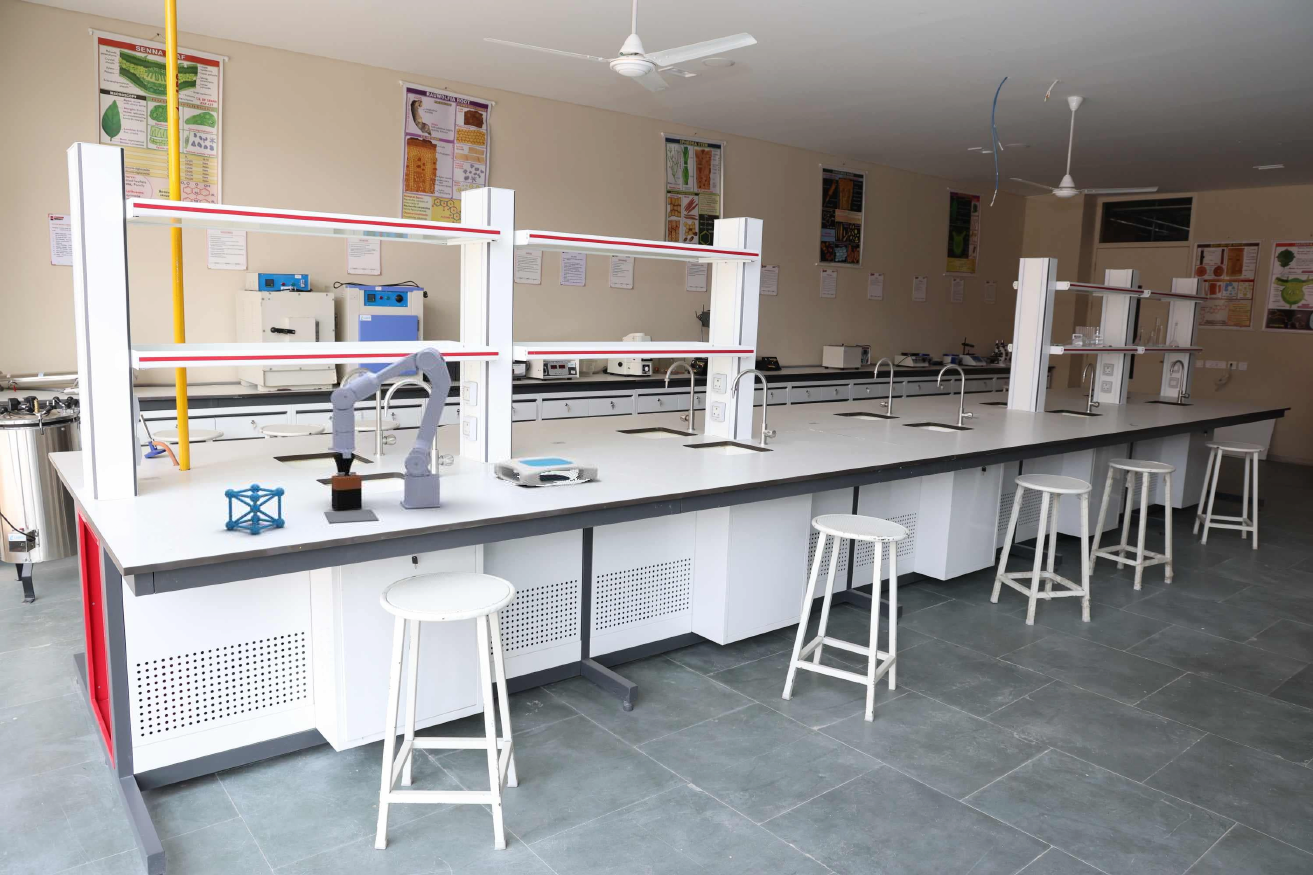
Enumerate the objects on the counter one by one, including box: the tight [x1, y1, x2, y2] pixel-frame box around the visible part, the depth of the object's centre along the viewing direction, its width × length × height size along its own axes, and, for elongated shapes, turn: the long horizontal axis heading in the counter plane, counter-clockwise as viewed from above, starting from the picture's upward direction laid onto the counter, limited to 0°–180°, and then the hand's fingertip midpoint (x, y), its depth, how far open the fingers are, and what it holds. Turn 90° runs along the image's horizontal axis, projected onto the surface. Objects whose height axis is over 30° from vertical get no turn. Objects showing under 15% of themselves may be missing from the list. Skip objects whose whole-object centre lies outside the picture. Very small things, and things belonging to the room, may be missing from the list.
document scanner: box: [493, 455, 599, 487], centre depth 293 cm, size 21×28×6 cm
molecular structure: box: [224, 483, 286, 535], centre depth 213 cm, size 10×10×10 cm
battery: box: [331, 471, 363, 511], centre depth 236 cm, size 4×7×10 cm, turn 132°
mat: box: [323, 509, 379, 524], centre depth 229 cm, size 12×12×1 cm
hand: (343, 479), depth 242 cm, fingers closed
